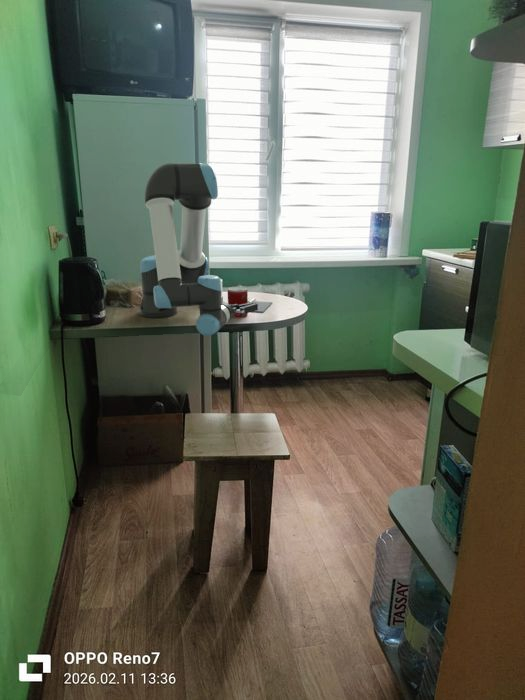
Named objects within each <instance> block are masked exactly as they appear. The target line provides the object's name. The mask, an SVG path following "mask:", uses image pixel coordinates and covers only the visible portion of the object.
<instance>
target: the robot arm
mask: <svg viewBox="0 0 525 700" xmlns="http://www.w3.org/2000/svg"><path fill="white" fill-rule="evenodd" d="M218 189H219V188H218V181H217V176H216V172H215V168H214V167H213V165H212V164H210V163H202V162H199V163H171V162H168V163H165V164H162V165H160V166H158V167H157V168H156V169H155V170H154V171H153V172H152V173H151V175H150V177H149V179H148V181H147V183H146V186H145V191H144V203H145V207H146V208H147V209H148V210H149V217H150V225H151V233H152V234H151V235H152V241H153V250H154V255H149V256H146V257H144V258H142V259H141V260H140V262H139V265H140V267H139V269H140V270H139V272H140V278H141V289H142V290H141V291H142V298H141V301H140V302H141V303H140V306H139V315H140V316H142V317H144V318H166V317H170V316H173V315H176V314H177V313H178V308H183V307H185V308H186V307H197V306H198V308H199V310H198V311H199V316H198V318H197V320H196V321H195V329H197V331H198V333H199V334H201V335H202V336H204V337H210V336H212V335H213V336H214V334H217V333H218V332H219V330H221V329H222V328H223V327H224V326H225V325H226V324H227V323H228V322H230V321H231V320H232V319H233V318H234V317H233V315H234V314H238V313H240V315H244V314H246V313H248V314H249V313H254V312H253V311H256V310H258V303H256V301H257V298H256V297H254V298H252V299H251V300H249V301H250V302H249V303H247V304H241V305H238V304H234V305H231V304H230V305H229V304H228V302H226V301H224V296H223V295H222V296H221V283H220V279H221V278H220V277H219V276H218V275H212V274H210V273H209V270H210V265H209V264H210V263H209V260H208V257H207V256H205V254H204V252H203V247H204V236H205V227H206V225H205V224H206V215H207V209H209V207H210V206H211V204H212V200H216V199H217V198H218V195H219V193H218V192H219V191H218ZM175 200H176V201H177V200H178V202H179V204H180V206H181V209H182V210H181V227H180V230H181V231H180V247H179V248H180V249H179V250H178V242H177V241H178V240H177V235H176V228H175V227H176V225H175V221H174V220H175V219H174V218H175V217H174V211H173V208H174V207H175V204H176V203H175ZM235 306H236V308H235Z"/></svg>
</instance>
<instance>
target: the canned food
mask: <svg viewBox="0 0 525 700" xmlns="http://www.w3.org/2000/svg"><path fill="white" fill-rule="evenodd" d="M248 299H249V298H248V288H247V287H245V286H230V287H228V288H227V303H228V304H229V305H230V304H231V305H234V304H238V305H241V304H247V303H248V301H249V300H248ZM235 308H236V306H235ZM248 314H249V313H246V314H244V315H240V313H238V314H234V315H233V317H232V318H236V319H237V318H238V319H239V318H245V317H247V316H248Z"/></svg>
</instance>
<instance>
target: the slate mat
mask: <svg viewBox="0 0 525 700" xmlns="http://www.w3.org/2000/svg"><path fill="white" fill-rule="evenodd" d="M250 301H251V300H248V303H249V302H250ZM256 303H258V310H256V311H253V312H252V313H261V314H263V313H265V312H266V311H267V310H268V309H269V307H271V305H272V304H273V301H258V300H256Z"/></svg>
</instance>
